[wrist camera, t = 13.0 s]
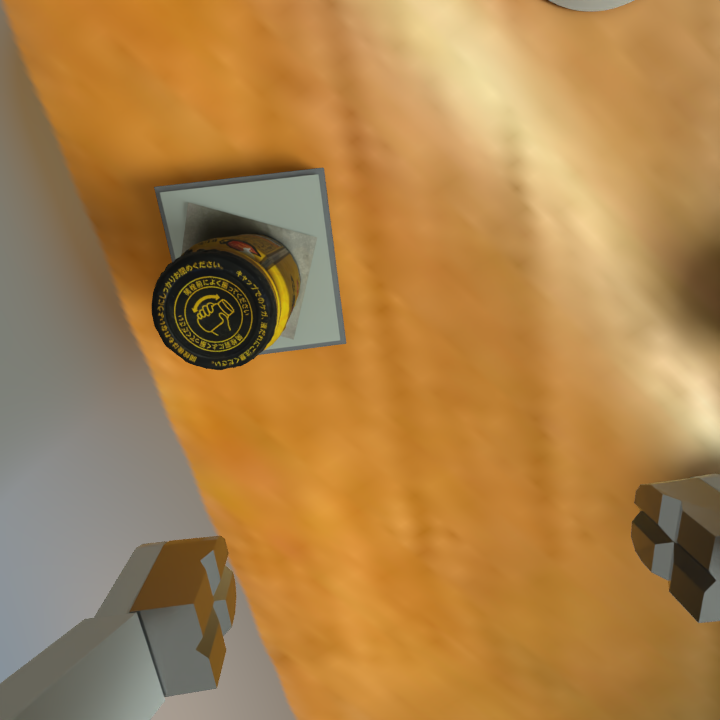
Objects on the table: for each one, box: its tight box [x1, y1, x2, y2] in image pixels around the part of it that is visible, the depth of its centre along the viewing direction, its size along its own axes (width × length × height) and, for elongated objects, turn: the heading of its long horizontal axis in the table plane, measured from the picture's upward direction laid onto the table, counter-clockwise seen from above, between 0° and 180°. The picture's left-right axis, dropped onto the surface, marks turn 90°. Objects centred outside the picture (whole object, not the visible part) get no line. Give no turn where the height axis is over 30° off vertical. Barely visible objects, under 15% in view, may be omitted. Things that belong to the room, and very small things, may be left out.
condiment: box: [152, 202, 317, 370], centre depth 24 cm, size 7×8×12 cm
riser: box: [154, 168, 346, 355], centre depth 31 cm, size 12×11×3 cm
